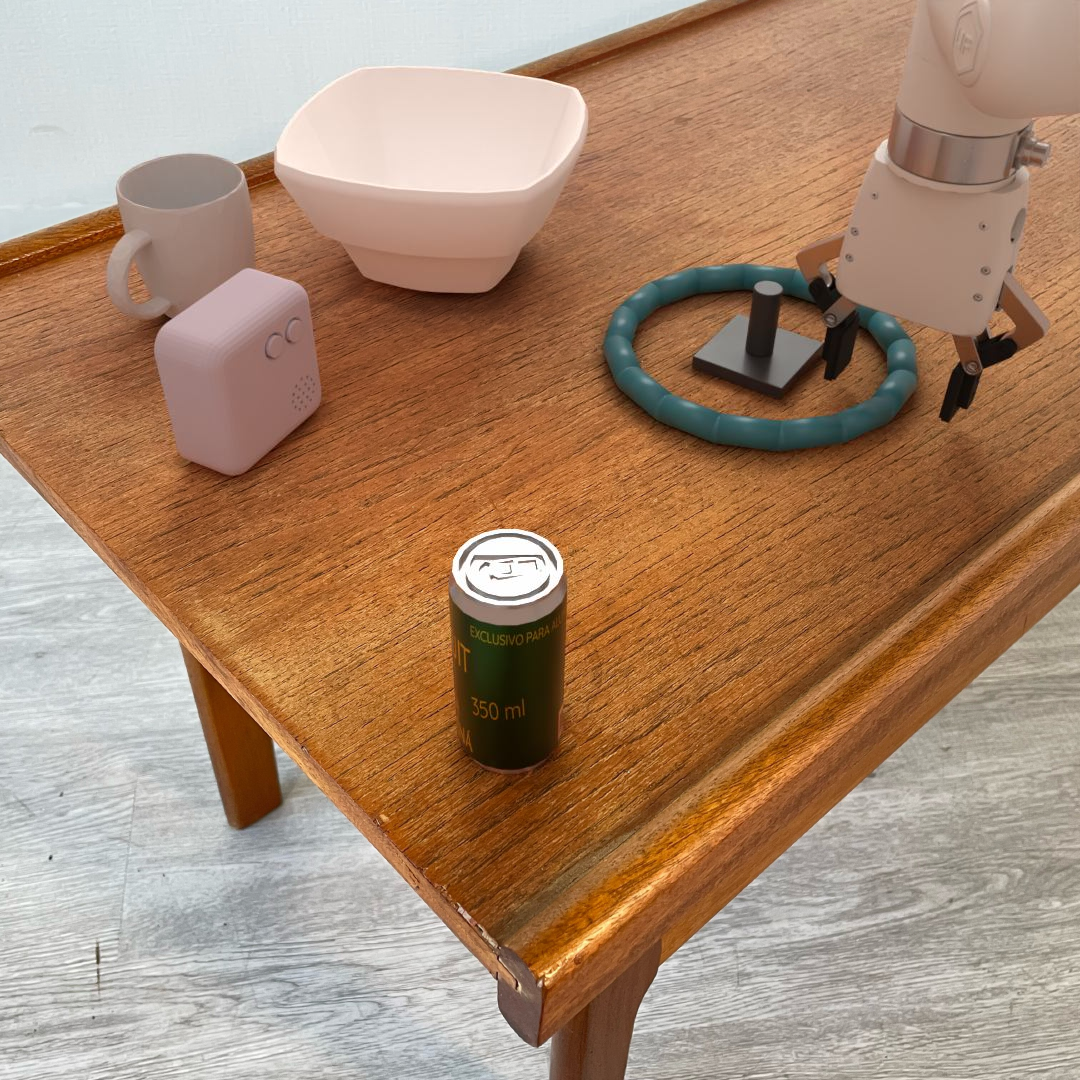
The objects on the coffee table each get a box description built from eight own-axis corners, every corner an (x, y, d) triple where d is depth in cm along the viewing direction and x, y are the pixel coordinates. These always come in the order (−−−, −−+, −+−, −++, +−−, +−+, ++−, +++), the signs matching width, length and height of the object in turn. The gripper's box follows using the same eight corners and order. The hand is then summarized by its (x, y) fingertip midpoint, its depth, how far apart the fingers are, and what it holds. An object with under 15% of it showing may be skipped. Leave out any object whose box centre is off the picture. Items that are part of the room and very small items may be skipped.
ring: (958, 340, 89) (964, 317, 88) (836, 498, 76) (842, 473, 74) (696, 255, 98) (698, 232, 97) (545, 382, 85) (545, 358, 83)
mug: (199, 262, 97) (175, 142, 90) (289, 292, 93) (270, 169, 87) (83, 338, 88) (46, 212, 82) (177, 373, 85) (147, 245, 78)
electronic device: (240, 490, 76) (212, 356, 69) (182, 468, 77) (149, 334, 71) (333, 408, 82) (316, 278, 76) (278, 389, 84) (256, 260, 77)
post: (822, 354, 88) (836, 281, 84) (780, 400, 83) (793, 326, 79) (736, 324, 91) (746, 252, 86) (691, 367, 86) (699, 294, 82)
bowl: (548, 356, 87) (550, 208, 79) (259, 318, 91) (234, 172, 83) (603, 215, 103) (610, 80, 95) (357, 187, 107) (343, 54, 99)
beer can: (553, 690, 64) (557, 520, 56) (571, 772, 60) (578, 602, 52) (451, 702, 63) (441, 531, 55) (463, 785, 59) (453, 615, 51)
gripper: (1126, 156, 69) (1037, 407, 81) (842, 86, 76) (799, 326, 88) (1089, 206, 64) (1000, 465, 76) (790, 127, 71) (752, 375, 83)
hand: (893, 389), depth 82 cm, fingers open, 7 cm apart
